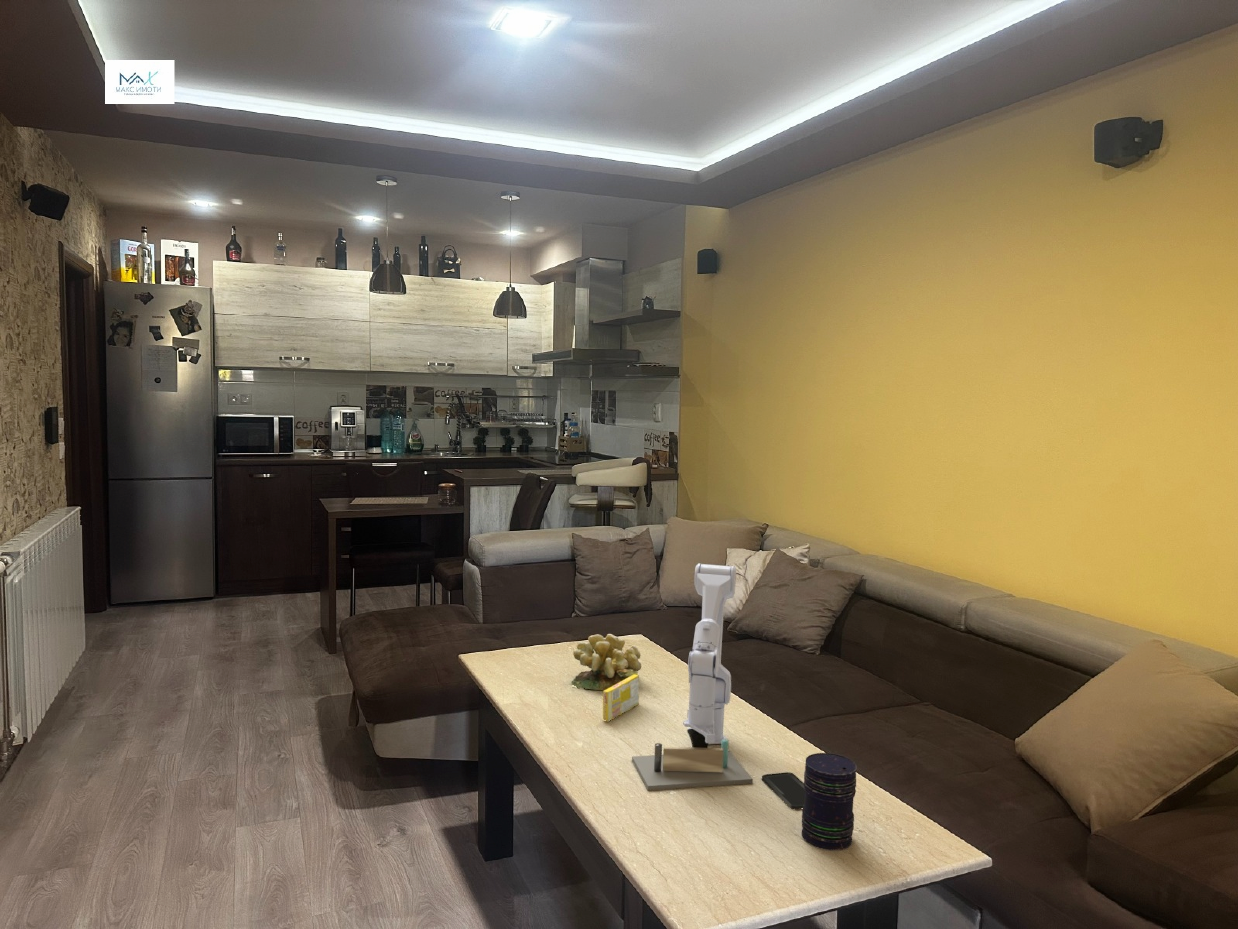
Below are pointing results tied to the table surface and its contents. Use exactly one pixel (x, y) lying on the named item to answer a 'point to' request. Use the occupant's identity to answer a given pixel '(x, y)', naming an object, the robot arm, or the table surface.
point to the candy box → (620, 697)
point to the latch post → (725, 752)
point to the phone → (787, 788)
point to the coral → (605, 662)
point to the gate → (693, 759)
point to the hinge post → (658, 757)
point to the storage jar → (828, 801)
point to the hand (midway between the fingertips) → (699, 761)
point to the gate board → (689, 775)
